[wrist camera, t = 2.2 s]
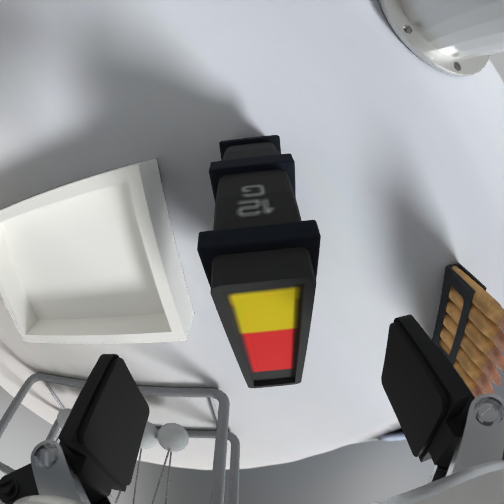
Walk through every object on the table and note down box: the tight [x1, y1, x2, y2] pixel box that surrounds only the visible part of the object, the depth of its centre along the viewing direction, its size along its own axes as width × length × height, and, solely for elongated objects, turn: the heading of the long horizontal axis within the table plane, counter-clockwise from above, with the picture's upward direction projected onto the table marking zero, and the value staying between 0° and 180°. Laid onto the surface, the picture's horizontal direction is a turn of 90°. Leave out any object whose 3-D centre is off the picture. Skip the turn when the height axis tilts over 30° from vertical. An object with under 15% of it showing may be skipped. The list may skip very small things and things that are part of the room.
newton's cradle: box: [0, 373, 240, 504], centre depth 25 cm, size 30×10×18 cm, turn 95°
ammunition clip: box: [432, 263, 504, 398], centre depth 21 cm, size 11×2×12 cm, turn 9°
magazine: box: [197, 135, 321, 388], centre depth 18 cm, size 4×13×15 cm, turn 6°
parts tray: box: [0, 158, 195, 344], centre depth 23 cm, size 14×20×4 cm
